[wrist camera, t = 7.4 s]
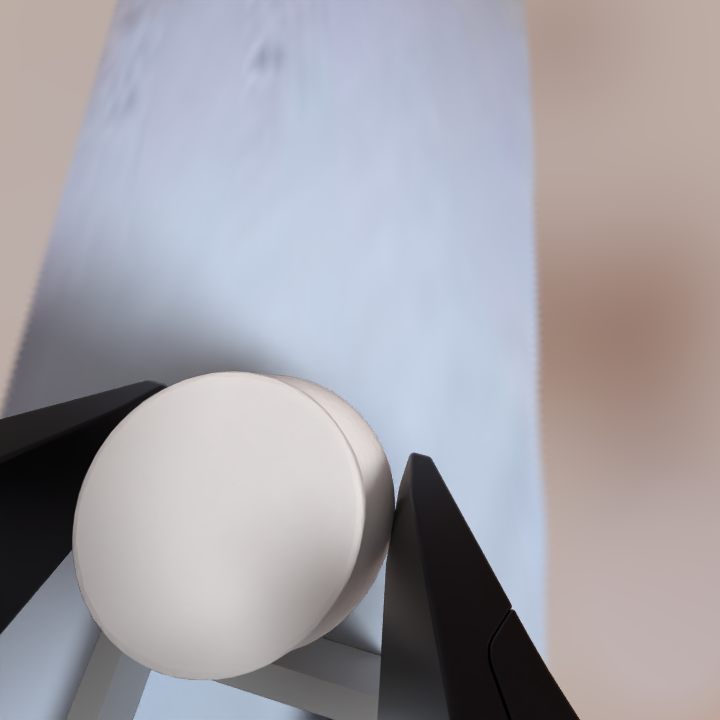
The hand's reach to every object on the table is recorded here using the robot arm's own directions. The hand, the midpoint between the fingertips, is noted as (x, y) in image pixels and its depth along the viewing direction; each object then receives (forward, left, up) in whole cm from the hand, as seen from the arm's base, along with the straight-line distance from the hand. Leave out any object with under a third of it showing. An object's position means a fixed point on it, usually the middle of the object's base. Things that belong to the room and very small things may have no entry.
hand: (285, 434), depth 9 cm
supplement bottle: (-1, 0, -7) cm, 7 cm away
